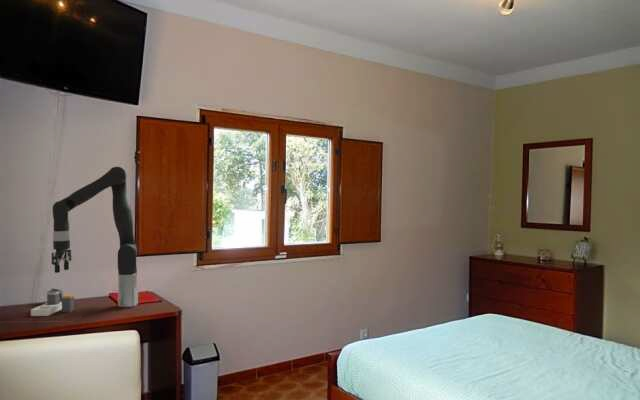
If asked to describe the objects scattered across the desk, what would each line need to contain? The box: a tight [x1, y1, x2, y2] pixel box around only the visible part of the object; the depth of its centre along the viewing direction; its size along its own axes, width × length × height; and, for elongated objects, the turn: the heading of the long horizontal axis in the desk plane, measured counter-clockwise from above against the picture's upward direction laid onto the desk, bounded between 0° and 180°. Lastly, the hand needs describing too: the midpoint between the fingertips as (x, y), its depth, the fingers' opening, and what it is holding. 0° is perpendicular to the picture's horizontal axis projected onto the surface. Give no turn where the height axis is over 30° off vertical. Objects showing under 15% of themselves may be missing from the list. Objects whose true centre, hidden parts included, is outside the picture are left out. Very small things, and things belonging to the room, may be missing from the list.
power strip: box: [30, 302, 62, 317], centre depth 225 cm, size 8×16×4 cm, turn 3°
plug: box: [61, 293, 75, 313], centre depth 227 cm, size 4×4×9 cm
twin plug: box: [46, 290, 60, 305], centre depth 230 cm, size 4×4×9 cm
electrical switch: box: [46, 287, 64, 302], centre depth 243 cm, size 9×5×9 cm, turn 57°
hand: (61, 271), depth 231 cm, fingers open, 8 cm apart
